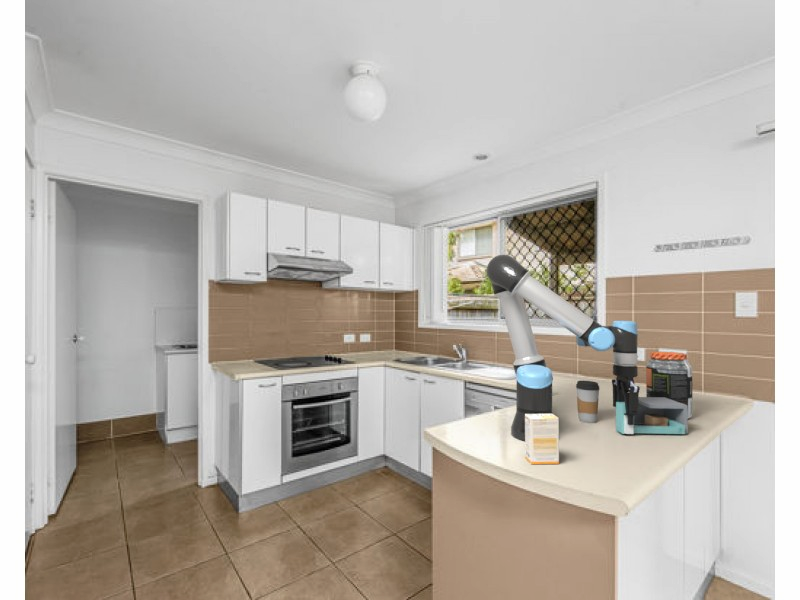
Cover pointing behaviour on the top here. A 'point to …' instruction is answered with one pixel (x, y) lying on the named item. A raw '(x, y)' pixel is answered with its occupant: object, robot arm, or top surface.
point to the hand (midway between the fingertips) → (625, 431)
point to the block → (655, 420)
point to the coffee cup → (587, 401)
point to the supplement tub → (670, 378)
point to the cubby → (662, 410)
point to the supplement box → (542, 438)
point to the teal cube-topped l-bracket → (671, 426)
